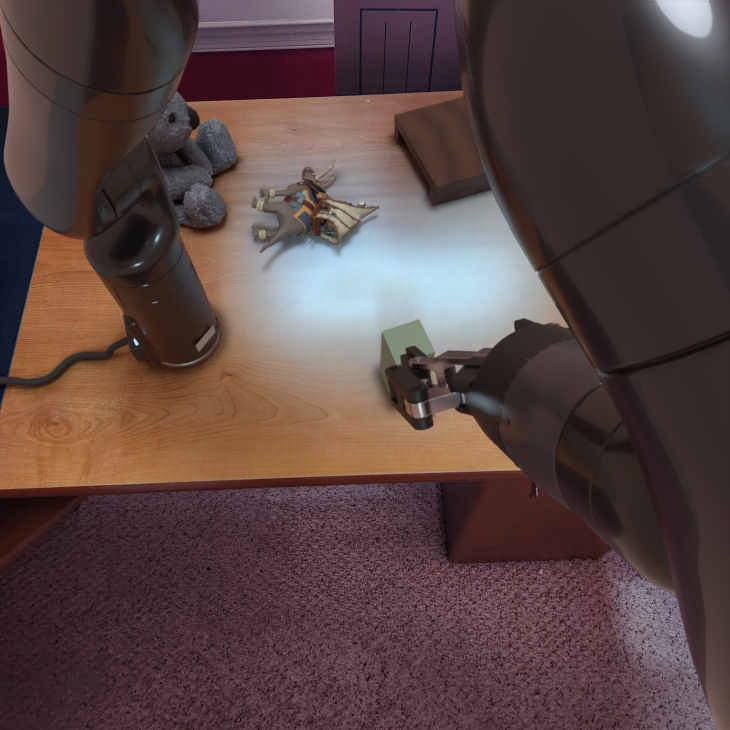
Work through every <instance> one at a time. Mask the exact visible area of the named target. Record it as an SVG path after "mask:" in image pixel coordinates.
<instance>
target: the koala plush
mask: <svg viewBox="0 0 730 730" xmlns="http://www.w3.org/2000/svg"><path fill="white" fill-rule="evenodd" d="M195 130H197V133H196V135H195V141H194V140H193V139H192V138H191V136H192V133H193V131H195ZM146 137H147V139H148V141H149V143H150V144H151V146H152V148H153V150H154V152H155V155H156V157H157V159H158V161H159V164H160V166H161V169H162V172H163V174H164V177H165V180H166V183H167V186H168V189H169V192H170V195H171V198H172V201H173V204H174V207H175V209H176V212H177V215H178V218H179V222H180V225H184V226H186V227H192V228H197V229H198V228H200V229H204V228H205V229H206V228H210V227H213V226H215V225H217V224H220V223H221V222H222V221H223V220H224V219H225V215H226V213H227V212H226V211H227V205H226V204H227V203H226V201H225V199H224V198H223V197H222V195H221V194H220V192H218V191H217V189H213V188H212V185H213V181H214V179H213V178H212V177H213V176H215V175H217V174H219V173H222V172H223V171H225V170H228V169H229V168H231V166H232V165H234V164H235V163H236V162H238V153H237V148H236V145H235V143H234V140H233V138H232V137H231V133H230V132H229V130H228V128H227V127H226V126H225V123H224V122H223V121H222V120H221V119H219V118H218V117H212V118H211V119H208V120H207V119H205V121H201V118H200V115H199V114H198V111H196V109H194V108H193V107H192V106H191V105H190V104H188V103H187V102H186V100H185V99H184V98H183V96H182V94H180V93H179V92H178V90H177V91H176V92H175V94H174V96H173V98H172V100H171V102H170V103H169V105H168V107H167V109H166V110H165V112H164V114H163V115H162V116H161V118H160V119H159V120H158V121H157V123H156V124H155V125H154V126H153V128H152V129H151V130H150V131H149V132H148V134H147V135H146Z"/></svg>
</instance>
